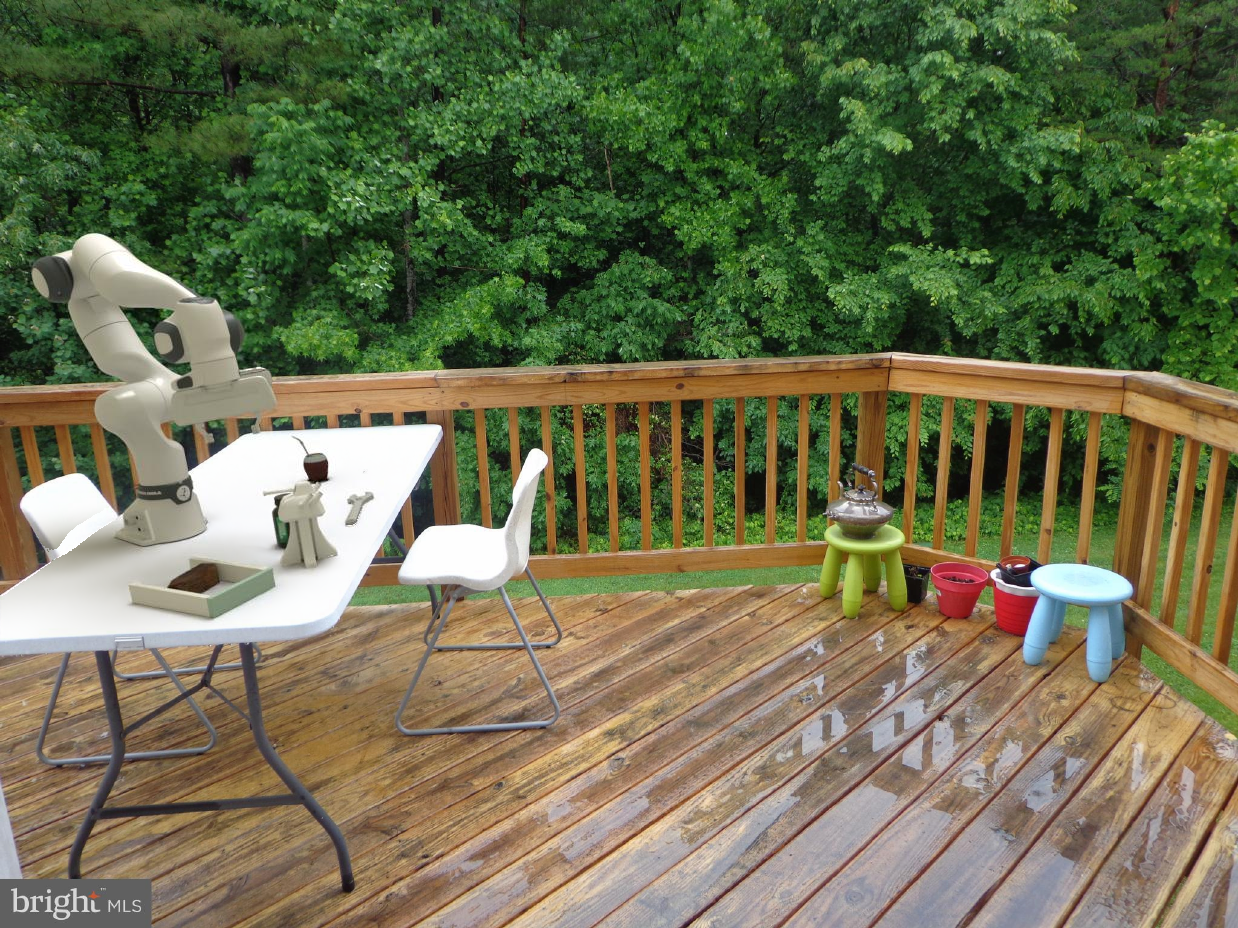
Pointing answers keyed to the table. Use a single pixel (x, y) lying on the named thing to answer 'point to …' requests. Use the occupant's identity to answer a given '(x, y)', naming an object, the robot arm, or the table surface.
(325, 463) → the mate gourd
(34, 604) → the table surface
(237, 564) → the bay
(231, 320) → the robot arm
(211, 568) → the brick
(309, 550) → the toy gun turret
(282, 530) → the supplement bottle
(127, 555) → the table surface
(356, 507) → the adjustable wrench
